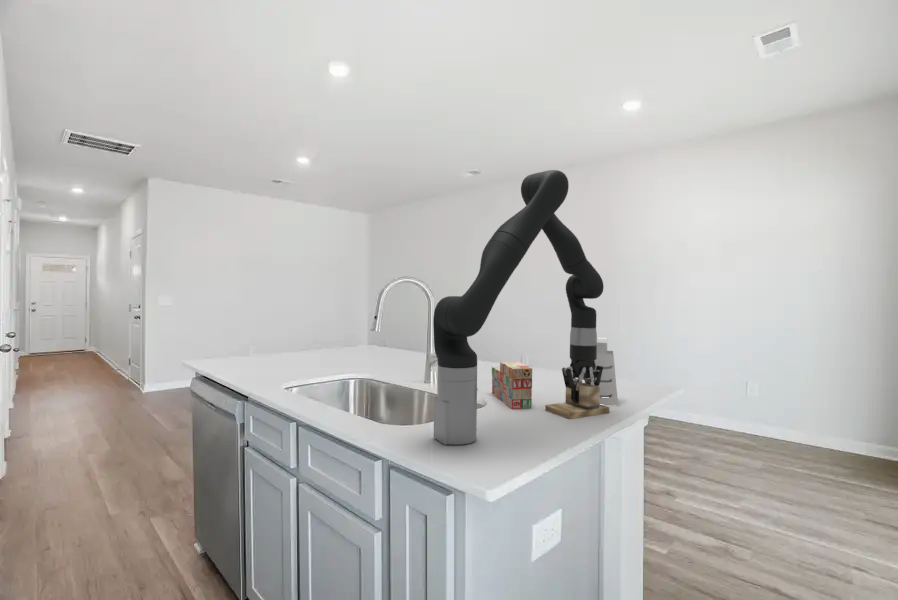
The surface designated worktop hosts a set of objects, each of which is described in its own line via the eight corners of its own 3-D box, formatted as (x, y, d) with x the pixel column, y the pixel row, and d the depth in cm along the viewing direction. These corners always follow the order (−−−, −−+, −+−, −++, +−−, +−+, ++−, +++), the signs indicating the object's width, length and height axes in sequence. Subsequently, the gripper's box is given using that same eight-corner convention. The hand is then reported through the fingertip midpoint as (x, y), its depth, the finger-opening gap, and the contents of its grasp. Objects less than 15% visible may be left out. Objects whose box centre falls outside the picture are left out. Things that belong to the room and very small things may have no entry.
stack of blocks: (491, 393, 157) (491, 357, 156) (509, 393, 158) (509, 357, 158) (511, 409, 136) (512, 368, 135) (532, 408, 137) (532, 367, 137)
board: (568, 419, 126) (568, 413, 126) (545, 410, 135) (545, 404, 134) (609, 412, 132) (609, 407, 132) (584, 405, 141) (584, 399, 141)
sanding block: (587, 409, 129) (587, 388, 129) (565, 402, 137) (565, 382, 137) (599, 407, 131) (599, 386, 131) (577, 401, 139) (577, 381, 139)
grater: (582, 403, 144) (583, 339, 143) (583, 396, 154) (584, 336, 153) (618, 406, 140) (619, 340, 140) (617, 398, 150) (618, 337, 150)
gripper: (573, 345, 127) (572, 407, 128) (611, 343, 134) (610, 402, 134) (555, 342, 134) (554, 401, 134) (592, 341, 141) (591, 397, 141)
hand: (582, 401), depth 134 cm, fingers closed on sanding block, 4 cm apart
